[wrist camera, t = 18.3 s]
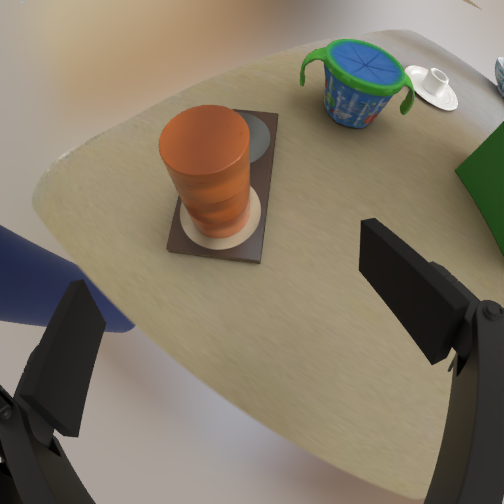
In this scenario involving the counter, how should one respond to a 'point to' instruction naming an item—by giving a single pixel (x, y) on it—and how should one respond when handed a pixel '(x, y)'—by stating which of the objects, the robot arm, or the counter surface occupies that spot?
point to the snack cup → (359, 81)
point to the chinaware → (500, 74)
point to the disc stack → (210, 167)
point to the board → (251, 235)
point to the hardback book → (488, 181)
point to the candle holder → (432, 86)
